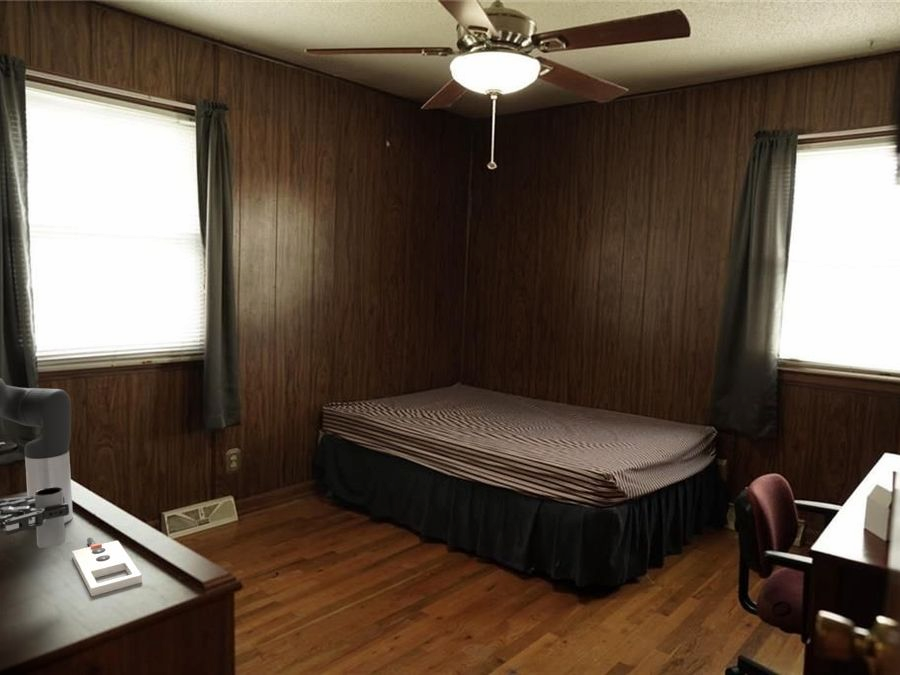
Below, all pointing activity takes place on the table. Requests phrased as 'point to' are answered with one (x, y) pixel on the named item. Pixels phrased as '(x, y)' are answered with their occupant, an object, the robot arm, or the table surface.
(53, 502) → the planter
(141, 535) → the table surface
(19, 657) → the table surface
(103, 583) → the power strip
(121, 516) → the table surface
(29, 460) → the robot arm
